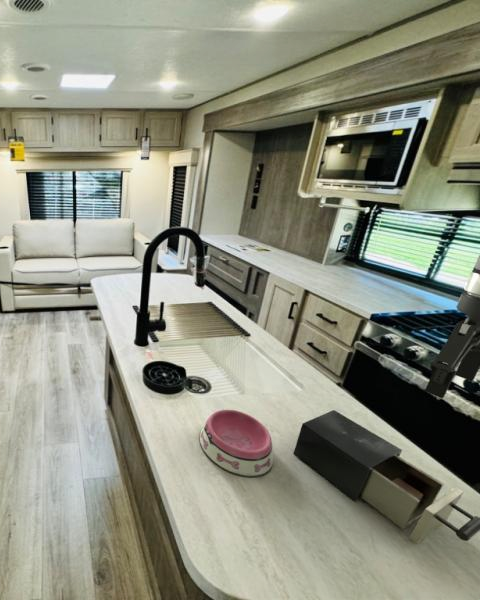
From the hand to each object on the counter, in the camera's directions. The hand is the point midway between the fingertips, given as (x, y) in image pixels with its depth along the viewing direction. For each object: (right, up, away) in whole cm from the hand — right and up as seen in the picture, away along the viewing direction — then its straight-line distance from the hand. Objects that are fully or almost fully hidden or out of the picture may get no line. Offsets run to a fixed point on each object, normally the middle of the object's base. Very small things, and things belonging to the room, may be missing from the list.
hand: (449, 385), depth 69 cm
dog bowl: (-39, -22, +18) cm, 48 cm away
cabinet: (-16, -24, +11) cm, 31 cm away
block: (-11, -26, 0) cm, 28 cm away
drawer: (-11, -28, -1) cm, 30 cm away
